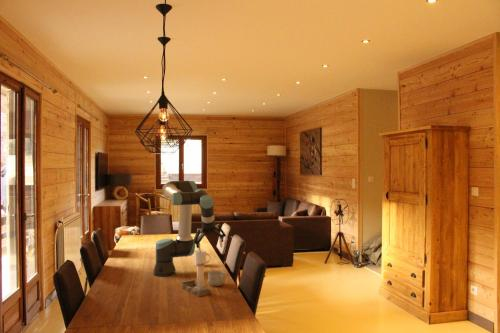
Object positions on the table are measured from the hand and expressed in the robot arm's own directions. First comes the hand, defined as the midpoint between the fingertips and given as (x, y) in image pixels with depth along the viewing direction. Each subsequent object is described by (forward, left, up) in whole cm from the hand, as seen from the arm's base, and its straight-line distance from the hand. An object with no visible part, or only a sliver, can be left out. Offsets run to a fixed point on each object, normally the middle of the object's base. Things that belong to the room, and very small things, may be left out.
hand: (210, 248), depth 259 cm
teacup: (+1, +4, -23) cm, 24 cm away
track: (+4, -12, -23) cm, 26 cm away
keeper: (+9, -12, -22) cm, 26 cm away
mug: (-51, +24, -23) cm, 61 cm away
